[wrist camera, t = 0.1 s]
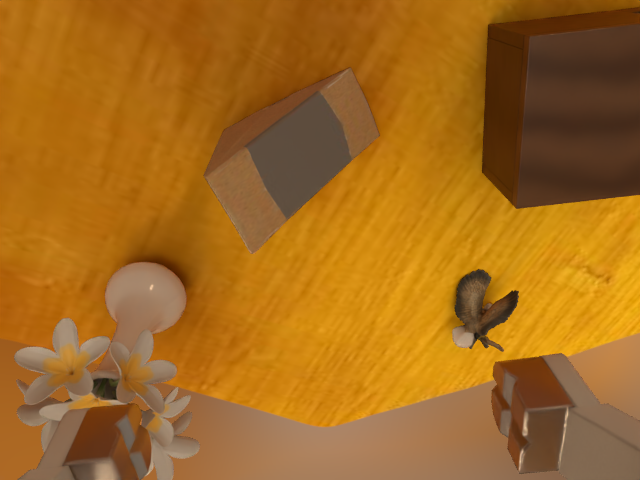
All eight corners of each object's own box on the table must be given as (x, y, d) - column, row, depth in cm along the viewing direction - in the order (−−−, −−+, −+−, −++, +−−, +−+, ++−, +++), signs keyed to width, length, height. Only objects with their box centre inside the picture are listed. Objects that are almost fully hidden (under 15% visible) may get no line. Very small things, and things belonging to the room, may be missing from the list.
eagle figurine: (511, 331, 71) (528, 281, 65) (496, 368, 66) (513, 318, 60) (456, 310, 74) (467, 261, 68) (438, 344, 69) (449, 294, 63)
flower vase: (182, 354, 71) (134, 531, 49) (64, 270, 64) (-54, 431, 42) (249, 297, 67) (230, 459, 45) (131, 201, 61) (42, 337, 38)
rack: (488, 24, 54) (529, 36, 45) (751, -6, 54) (847, 0, 45) (481, 172, 61) (516, 209, 52) (713, 145, 61) (789, 177, 52)
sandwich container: (382, 137, 59) (409, 187, 45) (259, 194, 61) (251, 257, 48) (351, 64, 55) (371, 95, 42) (222, 128, 57) (202, 177, 44)
